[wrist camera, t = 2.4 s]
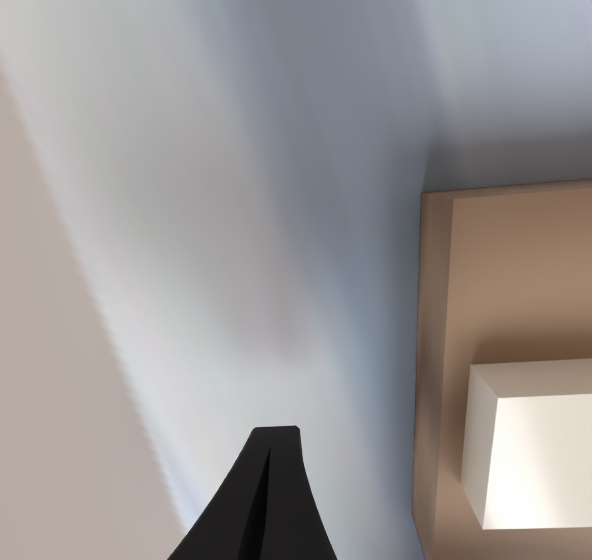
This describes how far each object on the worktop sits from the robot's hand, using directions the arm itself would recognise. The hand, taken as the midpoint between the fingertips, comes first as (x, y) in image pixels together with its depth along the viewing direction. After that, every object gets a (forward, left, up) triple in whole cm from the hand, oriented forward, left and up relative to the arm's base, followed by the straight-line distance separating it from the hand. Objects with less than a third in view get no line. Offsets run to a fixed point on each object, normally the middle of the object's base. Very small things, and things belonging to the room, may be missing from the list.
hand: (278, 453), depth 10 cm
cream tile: (0, -8, -1) cm, 8 cm away
